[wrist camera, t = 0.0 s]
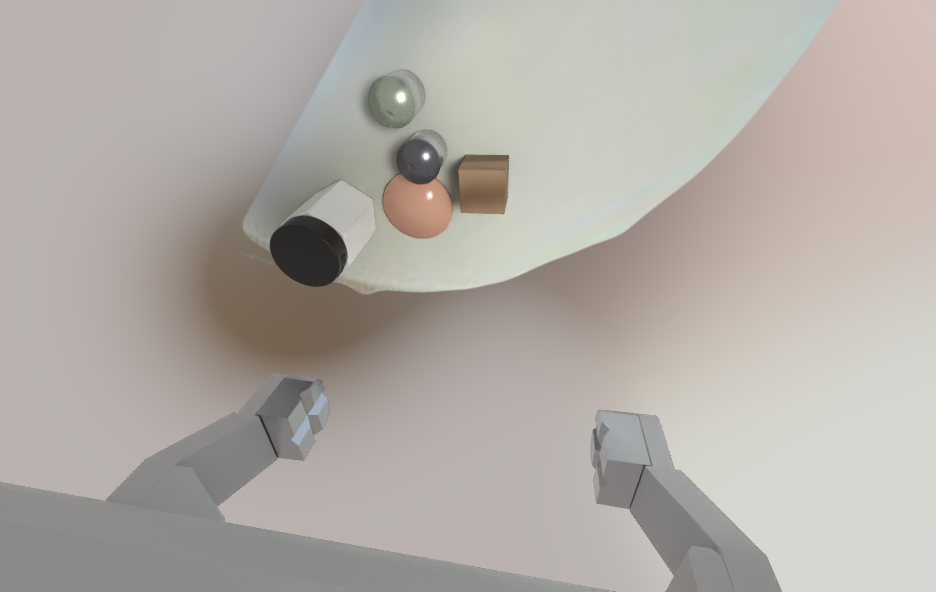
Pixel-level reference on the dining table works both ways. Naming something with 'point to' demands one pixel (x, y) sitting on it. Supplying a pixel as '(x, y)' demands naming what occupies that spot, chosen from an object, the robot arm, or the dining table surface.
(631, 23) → the dining table surface
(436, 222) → the pink glossy round part
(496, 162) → the walnut block
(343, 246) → the jar
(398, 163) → the tin
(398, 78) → the tin
